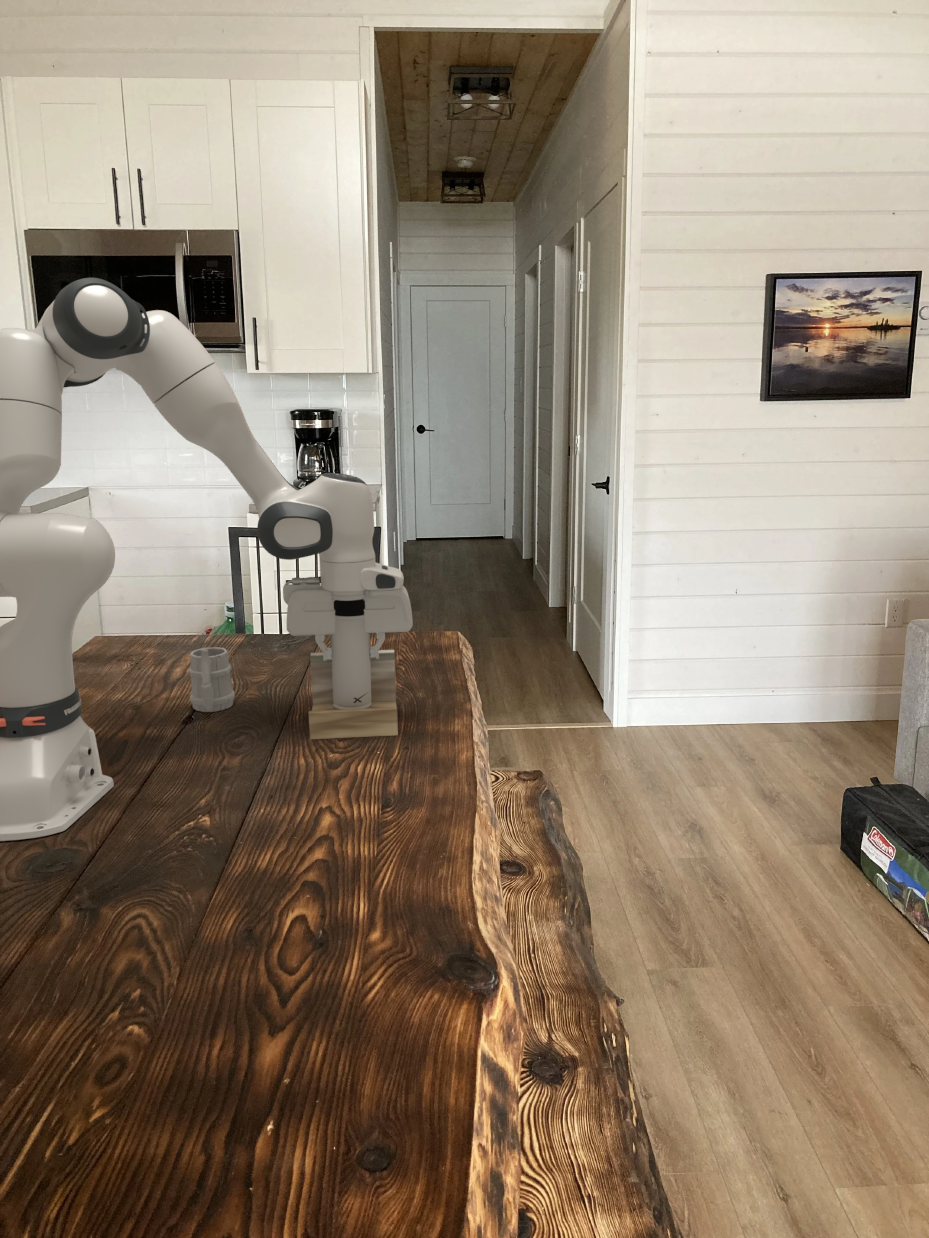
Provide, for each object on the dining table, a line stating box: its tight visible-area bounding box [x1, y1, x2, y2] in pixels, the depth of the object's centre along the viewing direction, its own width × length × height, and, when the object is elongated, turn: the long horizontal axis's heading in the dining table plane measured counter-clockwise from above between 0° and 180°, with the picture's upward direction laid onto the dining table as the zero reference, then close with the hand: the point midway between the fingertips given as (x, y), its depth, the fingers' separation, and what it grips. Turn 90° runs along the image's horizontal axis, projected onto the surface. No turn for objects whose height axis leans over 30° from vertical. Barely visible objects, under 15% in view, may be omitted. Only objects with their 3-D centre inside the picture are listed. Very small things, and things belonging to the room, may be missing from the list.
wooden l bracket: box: [308, 649, 399, 740], centre depth 156 cm, size 12×14×11 cm
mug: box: [188, 646, 236, 713], centre depth 164 cm, size 8×12×12 cm, turn 9°
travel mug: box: [330, 599, 372, 710], centre depth 154 cm, size 6×7×20 cm
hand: (351, 659), depth 154 cm, fingers closed on travel mug, 6 cm apart
